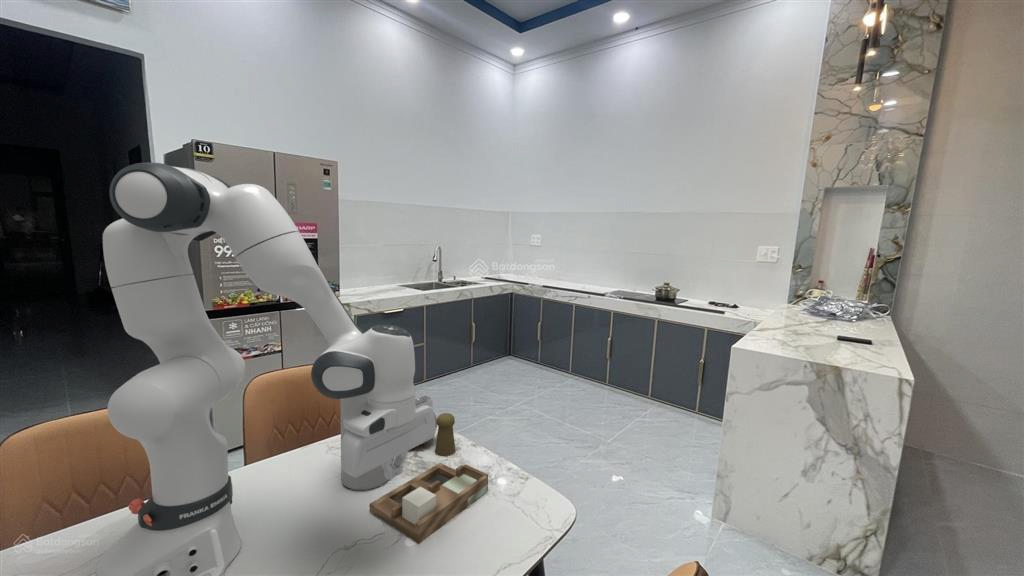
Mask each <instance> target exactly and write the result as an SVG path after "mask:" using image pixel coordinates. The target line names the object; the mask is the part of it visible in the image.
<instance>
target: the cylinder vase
mask: <svg viewBox="0 0 1024 576" xmlns="http://www.w3.org/2000/svg"><path fill="white" fill-rule="evenodd" d="M367 400H368V394H367V393H366V394H363V395H360V396H355V397H350V398H344V399H340V446H341V445H342V439H343V436H344V434H345V433H346V431H348V430H347V429H346V428H344V426H343V420H344V418H345V417H346V416H348V415H349V414H350V413H352V412H353V411H355V410H356V409H357V408H358V407H360V406H361V405H362V404H363V403H364V402H365V401H367ZM393 464H394V458H393V459H392V463H391V464H389V465H390V466H391V465H393ZM340 477H341V478H340V480H341V483H342V485H344V486H345V487H346V488H348V489H351V490H355V491H367V490H373V489H376V488H378V487H380V486H382V485H384V484H386V483H387V482H389V480H388V479H386V478H385V476H384V469H383V468H382V466H381V465H379V466H378V467H376V468H374V469H372V470H370V471H368V472H366V473H364V474H362V475H360V476H358V477H352V476H350V475H348V474H347V473H345V472H344V471H343V470H342V468H341V467H340Z"/></svg>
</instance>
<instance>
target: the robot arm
mask: <svg viewBox="0 0 1024 576" xmlns="http://www.w3.org/2000/svg"><path fill="white" fill-rule="evenodd" d="M109 199H110V203H111V205H112V207H113V208H114V210H115V212H116V213H117V214H118V216H120V217H121V218H120V219H117V220H115V221H113V222H112V223H110V224H109V225H107V226H106V228H105V229H104V231H103V232H102V251H103V259H104V266H105V270H106V275H107V279H108V282H109V285H110V288H111V292H112V295H113V298H114V301H115V304H116V308H117V310H118V314H119V317H120V319H121V323H122V325H123V329H124V330H125V332H126V333H127V334H128V335H129V336H130V337H132V338H133V339H136V340H140V341H142V342H143V343H144V344H145V345H147V346H148V347H149V348H150V349H151V351H152V352H153V353H154V355H155V356H156V357H157V360H158V362H159V364H157V365H154V366H151V367H149V368H147V369H144V370H142V371H140V372H138V373H136V375H135V376H132V377H131V378H130V379H128V380H127V381H125V383H123V384H122V385H121V386H120V387H118V388H117V389H116V390H115V391H114V392H113V393H112V395H111V396H110V398H109V400H108V403H107V408H106V409H107V417H108V419H109V421H110V423H111V426H113V428H115V430H116V431H117V432H119V433H120V434H121V435H123V436H125V437H127V438H131V439H134V440H136V441H138V442H139V443H140V444H141V446H142V447H143V449H144V451H145V453H146V456H147V459H148V463H149V472H150V480H151V490H152V491H151V493H152V495H151V496H150V498H149V499H148V500H147V501H146V502H145V501H144V500H143V499H142V498H135V499H133V500H131V501H130V503H129V504H128V510H129V511H130V513H131V514H133V515H137V520H138V521H137V523H135V525H133V526H132V527H131V528H130V529H129V530H128V531H127V532H125V534H123V536H121V537H120V538H119V539H118V540H117V541H115V542H114V543H113V544H112V545H111V546H110V547H109V548H108V549H107V550H105V551H104V553H103V554H102V555H101V557H100V559H99V562H98V565H97V567H96V572H95V576H224V574H225V572H226V568H227V567H228V566H229V565H230V563H231V562H232V561H233V560H235V558H236V557H237V555H238V554H239V552H240V550H241V547H242V539H241V537H240V535H239V532H238V530H237V527H236V524H235V521H234V515H233V510H232V503H233V496H234V493H233V482H232V477H231V475H229V461H228V460H229V459H228V456H229V455H228V442H227V439H226V438H225V436H224V435H222V433H220V432H216V431H215V430H214V428H213V426H212V422H211V419H210V413H211V409H212V408H213V406H215V405H216V404H218V403H220V402H222V400H223V399H225V398H226V397H228V396H230V395H231V394H232V393H233V391H234V390H235V389H236V388H237V387H238V385H239V384H240V383H241V381H242V380H243V378H244V377H245V374H246V362H245V360H244V358H243V356H242V354H240V353H239V352H238V351H237V350H236V349H235V348H233V347H230V346H228V345H227V344H226V343H225V341H224V340H223V338H221V336H220V335H219V333H218V332H217V330H216V329H215V328H214V326H213V324H212V322H211V321H210V318H209V317H208V314H207V313H206V310H205V306H204V303H203V300H202V297H201V294H200V291H199V287H198V284H197V281H196V277H195V274H194V270H193V268H192V264H191V262H190V261H191V260H190V257H189V252H188V250H189V245H190V243H191V242H192V241H197V242H201V241H205V239H208V238H210V237H212V236H213V235H216V234H217V235H219V237H221V238H222V240H224V242H225V244H227V246H228V248H229V250H230V251H231V253H232V254H233V256H234V258H235V260H236V261H237V263H238V265H239V266H240V268H241V269H242V271H243V272H244V273H245V274H246V276H247V277H248V278H249V280H250V281H252V283H253V284H254V285H255V286H256V287H257V288H258V289H259V290H261V291H263V292H266V293H268V294H270V295H274V296H278V297H282V298H285V299H288V300H290V301H293V302H295V303H296V304H298V305H299V306H301V307H303V309H305V311H306V312H307V313H308V314H309V316H310V317H311V319H312V321H314V323H315V325H316V327H317V328H318V329H319V331H320V332H321V333H322V335H323V336H324V338H325V339H326V341H327V345H328V348H327V349H326V350H324V351H323V352H322V353H321V354H320V355H319V356H318V357H317V358H316V360H315V361H314V363H313V364H312V366H311V370H310V371H311V372H310V376H311V377H310V378H311V382H312V385H313V386H314V389H316V390H317V391H318V393H320V395H322V396H324V397H326V398H328V399H332V400H341V399H344V398H350V397H355V396H360V395H363V394H366V393H367V394H368V400H367V401H365V402H364V403H363V404H362V405H361V406H360V407H358V408H357V409H356V410H355V411H353V412H352V413H350V414H349V415H348V416H346V417H345V418H344V420H343V426H344V428H346V429H347V430H348V431H346V433H345V434H344V436H343V439H342V445H341V444H340V469H341V468H342V470H343V471H344V472H345V473H347V474H348V475H350V476H352V477H358V476H360V475H362V474H364V473H366V472H368V471H370V470H372V469H374V468H376V467H378V466H379V465H381V466H382V468H383V469H384V476H385V478H386V479H388V481H390V480H392V479H393V480H394V478H397V476H399V475H401V474H402V473H403V465H404V463H405V460H406V459H407V456H408V455H407V454H408V453H407V452H409V451H410V450H412V449H414V448H416V447H418V446H421V445H423V444H422V443H424V442H426V441H427V442H429V441H430V440H431V439H433V438H434V436H435V434H436V432H437V431H436V430H437V428H436V427H435V417H434V413H435V411H434V409H433V400H432V397H430V396H427V395H423V396H420V397H418V398H416V388H415V385H414V378H415V375H416V374H415V372H416V358H415V357H416V356H415V349H414V348H415V346H414V341H413V338H412V336H411V334H410V332H408V331H407V330H406V329H404V328H402V327H399V326H397V325H390V324H377V325H373V326H372V327H370V329H368V330H367V331H365V330H364V329H362V328H361V327H360V326H359V325H358V324H357V323H356V322H355V320H354V319H353V318H352V316H351V314H350V313H349V312H348V310H347V309H346V307H345V306H344V304H343V302H342V301H341V300H340V298H339V297H338V295H337V294H336V292H335V291H334V289H333V288H332V286H331V285H330V283H329V282H328V280H327V279H326V277H325V275H324V273H323V272H322V270H321V268H320V267H319V266H318V264H317V261H316V259H315V258H314V256H313V254H312V252H311V250H310V249H309V246H308V245H307V243H306V241H305V239H304V237H303V235H302V234H301V232H300V230H299V229H298V227H297V226H296V224H295V223H294V221H293V220H292V218H291V216H290V215H289V214H288V212H287V211H286V209H285V208H284V207H283V206H282V205H281V204H280V202H279V201H278V200H277V198H275V196H274V195H273V194H272V193H271V192H270V191H269V190H268V189H267V188H265V187H263V186H261V185H258V184H255V183H242V184H237V185H233V186H231V185H230V184H228V183H227V182H225V181H224V180H223V179H221V178H219V177H216V176H212V175H208V174H207V173H205V172H202V171H199V170H196V169H192V168H188V167H178V166H173V165H169V164H165V163H161V162H139V163H134V164H130V165H127V166H125V167H123V168H122V169H120V170H119V171H118V172H117V173H116V174H115V175H114V177H113V178H112V180H111V182H110V186H109ZM433 411H434V412H433ZM428 440H429V441H428ZM427 442H426V443H427ZM420 444H421V445H420ZM424 444H425V443H424ZM392 459H393V465H391V466H390V465H389V464H391V463H392Z"/></svg>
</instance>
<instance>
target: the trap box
mask: <svg viewBox="0 0 1024 576" xmlns="http://www.w3.org/2000/svg"><path fill="white" fill-rule="evenodd" d="M419 487H422V488H424V489H426V490H428V491H429V492H431V493H433V494H435V495H436V510H434V511H433V512H431V513H430V514H428V515H427V516H426V517H424V518H423V519H421V520H420V521H418V522H417V523H415V525H414V524H412V523H411V522H409V521H408V520H406V519H404V518H403V517H402V498H403V497H404V496H406V495H407V494H409V493H411V492H412V491H414V490H416V489H417V488H419ZM488 488H489V474H488V473H486V472H484V471H482V470H479V469H476V468H475V467H473V466H471V465H468V464H467V463H466V464H464V465H463V464H462V465H460V466H458V467H457V468H455V469H454V468H452V467H451V466H448V465H446V464H444V463H441V462H439V463H437V464H435V465H434V466H432V467H430V468H429V469H427V470H425V471H424V472H422V473H420V474H418V475H417V476H415V477H413V478H411V479H410V480H408V481H406V482H404V483H403V484H401V485H399V486H397V487H396V488H395V489H392V490H390V491H389V492H387V493H385V494H384V495H382V496H380V497H378V498H377V499H375V500H373V501H371V502H370V503H369V513H371V514H372V515H373V516H375V517H376V518H379V520H381V521H383V522H384V523H385V524H387V525H389V526H390V527H392V528H393V529H395V530H397V531H398V532H399V533H400V534H403V535H404V536H406V537H407V538H409V539H410V540H412V541H413V542H415V543H416V544H417V545H419V544H421V543H422V542H423V541H425V540H426V539H427V538H429V537H430V536H431V535H432V534H434V533H435V532H436V531H437V530H439V529H440V528H442V527H443V526H444V525H445V524H447V523H448V522H450V521H451V520H452V519H454V518H455V517H457V515H459V514H460V513H461V512H463V511H465V509H466V508H468V507H469V506H471V505H472V504H473V503H475V502H476V501H478V500H479V499H480V498H481V497H483V496H484V495H485V494H487V492H488Z"/></svg>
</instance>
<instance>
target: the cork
mask: <svg viewBox="0 0 1024 576" xmlns="http://www.w3.org/2000/svg"><path fill="white" fill-rule="evenodd" d="M436 418H437V427H438V428H437V434H436V440H435V447H434V453H435V454H436V456H439V457H449V456H452V455H454V454H455V453H456V443H455V436H454V435H455V434H454V425H455V423H456V421H455V420H456V419H455V416H454V415H453V414H451V413H450V412H449V413H448V412H445V413H440V414H439V415H438V416H436Z"/></svg>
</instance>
